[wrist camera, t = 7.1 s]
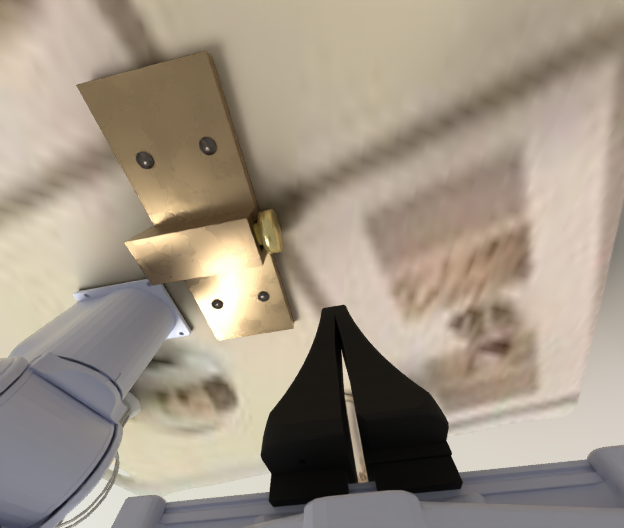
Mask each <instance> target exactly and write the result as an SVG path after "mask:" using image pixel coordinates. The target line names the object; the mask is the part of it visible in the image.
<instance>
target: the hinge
mask: <svg viewBox="0 0 624 528" xmlns="http://www.w3.org/2000/svg"><path fill="white" fill-rule="evenodd" d="M76 86H77V87H78V89H79V91H80V93H81V95H82V96H83V98H84V100H85V102H86V104H87V105H88V107H89V109H90V111H91V113H92V114H93V116H94V118H95V120H96V122H97V123H98V125H99V127H100V129H101V131H102V132H103V134H104V136H105V138H106V140H107V141H108V143H109V145H110V147H111V149H112V150H113V152H114V154H115V156H116V158H117V159H118V161H119V163H120V165H121V167H122V168H123V170H124V172H125V174H126V176H127V177H128V179H129V181H130V183H131V185H132V186H133V188H134V190H135V192H136V194H137V195H138V197H139V199H140V201H141V203H142V204H143V206H144V208H145V210H146V212H147V213H148V215H149V217H150V219H151V221H152V222H153V224H154V226H153V227H151V228H149V229H148V230H146V231H144V232H142V233H140V234H139V235H137V236H135V237H133V238H131V239H130V240H128V241H126V242H124V243H125V244H126V246H127V247H128V249H129V251H130V252H131V254H132V255H133V257H134V258H135V260H136V261H137V263H138V264H139V266H140V268H141V269H142V271H143V272H144V274H145V275H146V277H147V278H148V280H149V281H150V283H151V285H152V286H154V285H159V284H165V283H170V282H176V281H182V280H185V282H186V284H187V285H188V287H189V289H190V291H191V293H192V294H193V296H194V298H195V300H196V302H197V303H198V305H199V307H200V309H201V311H202V312H203V314H204V316H205V318H206V320H207V321H208V323H209V325H210V327H211V329H212V330H213V332H214V334H215V336H216V338H217V339H218V340H223V339H229V338H236V337H242V336H249V335H255V334H262V333H268V332H275V331H281V330H288V329H294V321H293V317H292V314H291V311H290V308H289V304H288V301H287V298H286V295H285V292H284V288H283V285H282V282H281V279H280V275H279V272H278V269H277V266H276V262H275V259H274V256H273V253H272V254H268V253H267V252H266V250H265V248H264V246H263V244H262V245H259V243H258V240H257V237H256V234H255V231H254V228H253V224H256V223H258V213H259V212H260V211H259V208H258V204H257V201H256V198H255V195H254V191H253V188H252V185H251V182H250V178H249V175H248V172H247V169H246V166H245V162H244V159H243V156H242V153H241V149H240V146H239V143H238V140H237V136H236V133H235V130H234V127H233V124H232V120H231V117H230V114H229V111H228V107H227V104H226V101H225V98H224V95H223V91H222V88H221V85H220V82H219V78H218V75H217V72H216V69H215V65H214V62H213V59H212V56H211V55H210V54H209V53H207V52H206V51H203V52H200V53H196V54H192V55H188V56H184V57H181V58H177V59H173V60H169V61H165V62H162V63H158V64H154V65H150V66H146V67H143V68H139V69H135V70H131V71H127V72H123V73H120V74H116V75H112V76H108V77H104V78H101V79H97V80H93V81H89V82H85V83H82V84H78V85H76Z"/></svg>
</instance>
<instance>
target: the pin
mask: <svg viewBox="0 0 624 528" xmlns="http://www.w3.org/2000/svg"><path fill="white" fill-rule="evenodd" d="M253 228H254V231H255V234H256V237H257V240H258V243H259V245H262V244H263V246H264V248H265V250H266V252H267V253H268V254H272V253H278V252H282V250H283V239H282V232H281V227H280V223H279V220H278V217H277V215H276V213H275V211H274V209H269V210H264V211H260V212H259V213H258V223H256V224H253Z"/></svg>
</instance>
